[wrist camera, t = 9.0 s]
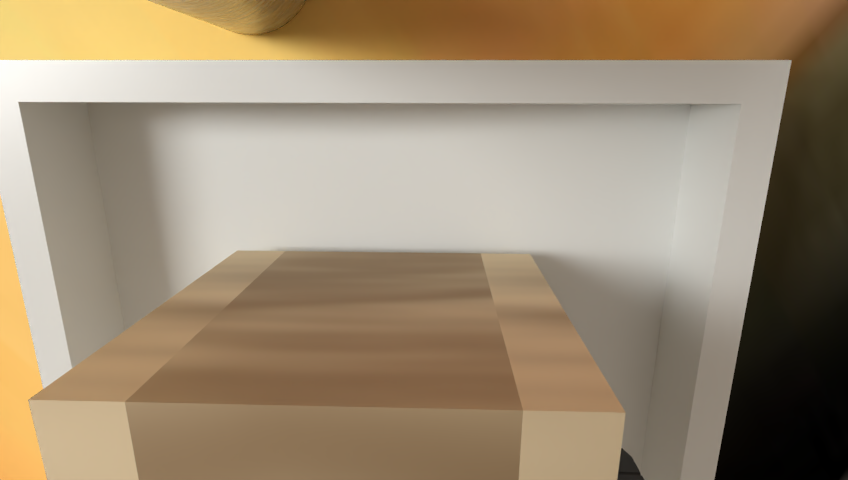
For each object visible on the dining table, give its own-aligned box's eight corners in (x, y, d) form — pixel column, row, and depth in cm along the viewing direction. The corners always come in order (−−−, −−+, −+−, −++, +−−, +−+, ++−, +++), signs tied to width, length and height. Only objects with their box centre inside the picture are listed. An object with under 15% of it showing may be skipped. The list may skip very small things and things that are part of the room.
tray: (62, 69, 15) (-30, 60, 12) (720, 69, 15) (791, 60, 12) (152, 578, 20) (103, 659, 17) (641, 594, 20) (677, 680, 17)
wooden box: (236, 250, 15) (28, 400, 8) (530, 254, 15) (625, 412, 7) (261, 491, 18) (122, 794, 10) (514, 498, 17) (574, 814, 10)
